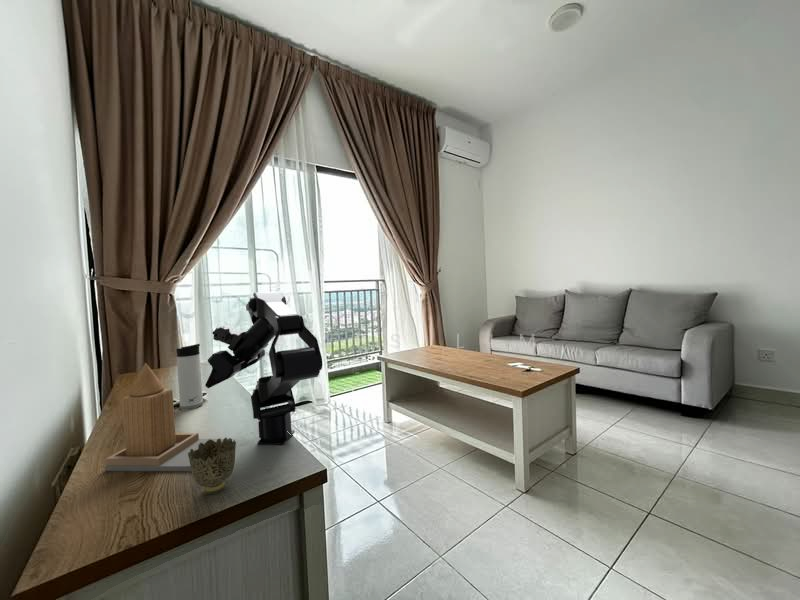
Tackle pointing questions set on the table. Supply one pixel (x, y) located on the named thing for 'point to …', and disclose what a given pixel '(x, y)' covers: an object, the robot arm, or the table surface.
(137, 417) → the decorative item
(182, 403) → the travel mug
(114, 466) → the display stand
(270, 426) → the robot arm
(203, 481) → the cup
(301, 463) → the table surface
